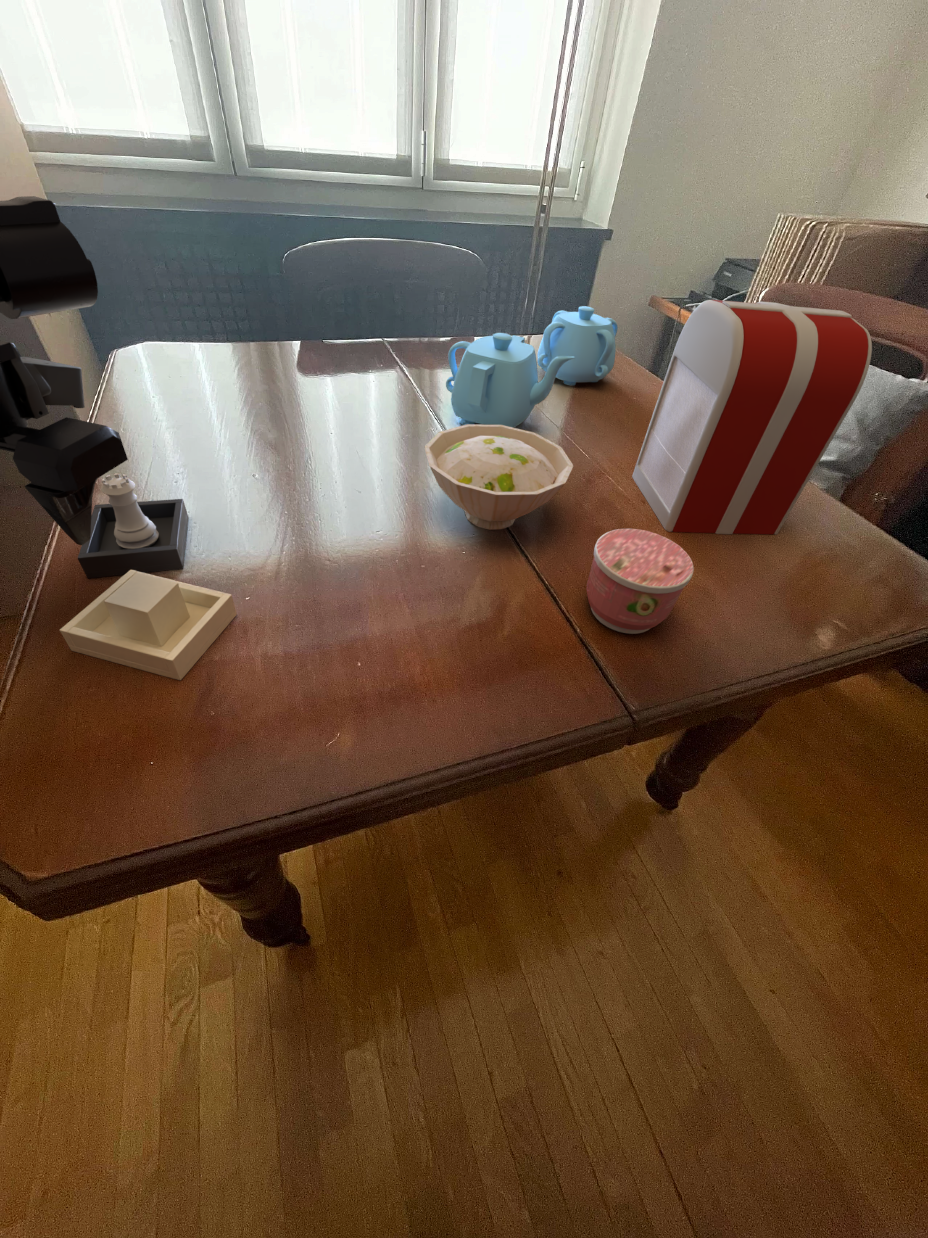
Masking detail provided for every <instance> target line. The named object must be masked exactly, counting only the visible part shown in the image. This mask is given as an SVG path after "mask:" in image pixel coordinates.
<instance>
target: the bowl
mask: <svg viewBox="0 0 928 1238" xmlns="http://www.w3.org/2000/svg"><path fill="white" fill-rule="evenodd" d="M424 451H425V455H426V458H427V461H428V465H429V468H430V470H431V472H432V474H433V477H434V479H435V481H436V483H437V485H438V487H439V488H440V489H441V490H442V492H444V494H445V495H446V496H447V497H448V498H449V499H450V501H452V502H453V504H455V506H457V507H459V508H460V509H462V510H463V511H464V513H465V516H466V520H467V521H468V522H470V523H471V524H473V525H474V526H475V527H477V528H481V529H485V530H489V531H490V530H504V529H506V528H509V527H511V526H513V525H514V522H515V521H516V520H517V519H519V518H521V517H523V516H525V515H528V514H530V513H531V512H534V511H535V510H536V509H539V508H540V507H541V506H544V505H545V504H546V503H548V502H551V500H552V499H553V498H554V497H555V495H556V494H558V492H559V491H560V490H561V489H562V488H563V487H564V486H565V484H566V482H568V479H569V476H570V474H571V472H572V470H573V467H574V464H573V463H572V461H571V459H570V457H568V455H567V454H566V451H565V450H564V449H563V447H562V446H560V445H559V444H556V443H554V442H553V441H551V440H549V439H547V438H546V437H543V436H542V435H540V434H538V433H537V432H533V431H530V430H526V429H525V430H524V429H520V428H516V427H508V426H504V425H483V424H476V423H475V424H466V425H460V426H459V425H458V426H456V427H451V428H448V429H445V430H442V431H438V432H437V433H436V434H435V436H433V437H432V439H430V441H429V442H427V443H426V444H425V446H424Z"/></svg>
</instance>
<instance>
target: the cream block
mask: <svg viewBox="0 0 928 1238" xmlns="http://www.w3.org/2000/svg"><path fill="white" fill-rule="evenodd" d="M104 603H105V605H106V607H107V609H108V611H109V613H110V615H111V618H112V620H113V622H114V624H115V626H116V628H117V630H118V632H119V634H120V636H124V637H127V638H131V639H135V640H139V641H142V642H146V643H150V644H154V645H157V646H161V647H162V646H163V645H164V644H165V642H166V641H167V640H168V639H169V638H170V637H171V636H172V635H173V634H174V633H175V632H176V631H177V630H178V629H179V628H180V627H181V626H182V624H183V623H184V622H185V621H186V620H187V619H188V618H189V617H190V616H189V613H188V610H187V607H186V604H185V601H184V598H183V596H182V593H181V590H180V587H179V584H178V583H176V582H172V581H168V580H164V579H160V578H156V577H152V576H148V575H144V574H140V573H136V574H135V575H133V576H132V577H131V578H130V579H129V580H128V581H127V582H125V583H124V584H123V585H122V586H121V587H120V588H118V589H117V590H116V591H115V592H114V593H113V594H111V595H110V596H109V597H108V598H107V599H106V600H105V601H104Z"/></svg>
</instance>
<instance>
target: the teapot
mask: <svg viewBox="0 0 928 1238" xmlns="http://www.w3.org/2000/svg"><path fill="white" fill-rule="evenodd" d="M460 349H464V350H465V351H464V353H463V355H462V358H461V360H460V363H459V365H457V361H456V360H457V359H456V352H457V350H460ZM573 358H574V356H558V357H555V358H554V359H553V360H552V361H551V362H550V364H549V366H548V368H547V371H546V372H545V373H544V375H543V378H542V379H541V380H540V381H539V371H538V363H537V355H536V349H535V347H534V345H532V344H529V343H526V337H524V336H520V335H510V334H509V333H505V332H496V333H493V334H492V335H485V336H482V337H479V338H477V339H475V340H473V341H471V342H469V341H465V340H463V341H462V340H461V341H458V342H456V343H454V344H453V345H452V346H451V347H450V348H449V350H448V354H447V360H448V361H447V362H448V365H449V368H450V372H451V376H449V377H448V378H447V380H446V381H445V388H446V390H447V391H448V392H449V393H451V395H450V402H451V408H452V410H453V413H454V414H455V416H456V417H458V418H460V419H459V420H458V423H459V424H460V425H461V426H463V425H466V424H475V425H476V424H478V425H504V426H508V427H513V428H516V427H517V426H519V425H520V424H522V423H523V422H524V421H526V419H527V418H528V417H529V416H530V414H531V413H532V412H533V409H534V408H535V406H536V405H538V404H541V403H542V402H543V401H545V400H546V399H547V397H548V396H549V395H550V393H551V391H552V389H553V386H554V383H555V380H556V374H557V372H558V370H559V368H560V367H561V366H562V365H563V364H564V363H565V362H567V361H568V360H571V359H573ZM452 382H453V384H452Z"/></svg>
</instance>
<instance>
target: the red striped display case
mask: <svg viewBox="0 0 928 1238" xmlns="http://www.w3.org/2000/svg"><path fill="white" fill-rule="evenodd" d="M872 354H873V343H872V338H871V334H870V332H869V330H868V329H867V328H866V327H864V326H863V325H862V324H861V323H860V322H858V320H856V319H855V318H853V315H852V314H850V313H848V312H846V311H844V310H839V309H827V308H826V309H825V308H818V307H817V308H816V307H805V306H804V307H803V306H792V305H788V304H783V303H780V302H773V301H772V302H771V301H757V302H744V301H733V300H721V299H707V300H704V301H702V302H701V303H700V304H698V305H697V306H696V307H695V308H694V310H692V312H691V313H690V315H689V317H688V319H687V320H686V322H685V323H684V326H683V328H682V330H681V331H680V334H679V337H678V338H677V340H676V344H675V346H674V350H673V352H672V356H671V358H670V362H669V365H668V367H667V370H666V374H665V376H664V380H663V383H662V385H661V389H660V392H659V395H658V397H657V401H656V403H655V407H654V409H653V412H652V415H651V418H650V422H649V424H648V427H647V431H646V434H645V436H644V439H643V442H642V446H641V448H640V452H639V455H638V457H637V460H636V463H635V466H634V470H633V473H632V475H631V477H632V479H633V481H634V483H635V484H636V486H637V487H638V489H639V490H640V492H641V494H642V496H643V497H644V498H645V500H646V502H647V503H648V505H649V506H650V508H651V509H652V512H653V513H654V514H655V516H656V518H657V520H658V521H659V522H660V524H661V526H662V527H663V529H664V530H665V531H666V532H670V533H672V532H673V533H693V534H694V533H696V534H697V533H698V534H699V533H700V534H704V533H705V534H716V535H733V534H736V535H737V534H738V535H739V534H741V535H778V534H779V532H780V530H781V529H782V527H783V525H784V523H785V522H786V520H787V518H788V516H789V515H790V513H791V512H792V510H793V508H794V506H795V504H796V503H797V501H798V499H799V497H800V496H801V494H802V492H803V491H804V490H805V487H806V486H807V484H808V482H809V480H810V479H811V478H812V475H813V474H814V471H815V470H816V469H817V466H818V465H819V463H820V461H821V460H822V458H823V456H824V454H825V453H826V451H827V450H828V448H829V446H830V444H831V442H832V441H833V439H834V437H835V436H836V434H837V432H838V430H839V428H841V425H842V424H843V422H844V420H845V418H846V416H847V415H848V413H849V411H850V410H851V408H852V407H853V405H854V403H855V401H856V399H857V397H858V395H859V394H860V393H861V392H860V391H861V389H862V388H863V385H864V382H865V381H866V377H867V375H868V372H869V368H870V364H871V360H872Z"/></svg>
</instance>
